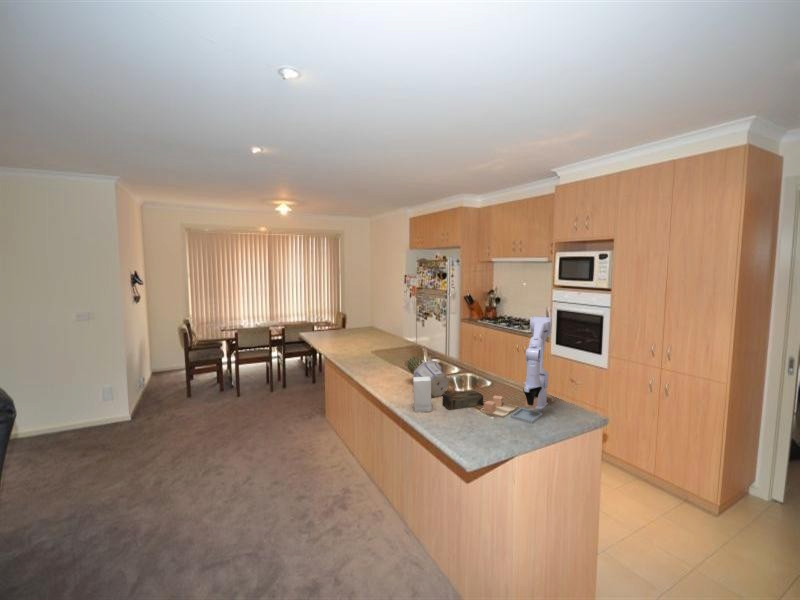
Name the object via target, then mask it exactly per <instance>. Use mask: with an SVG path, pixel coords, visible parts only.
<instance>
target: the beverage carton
mask: <svg viewBox="0 0 800 600" xmlns="http://www.w3.org/2000/svg"><path fill="white" fill-rule="evenodd" d="M441 404H442V407H444V408H445V409H446V410H447V411H455V410H463V409H468V408H476V407H482V406H483V407H484V395H483V394H482V393H480V392H479V391H477V390H471V391H470V390H469V391H458V392H449V393H444V394H442V402H441Z"/></svg>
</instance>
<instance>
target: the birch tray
mask: <svg viewBox="0 0 800 600" xmlns="http://www.w3.org/2000/svg"><path fill="white" fill-rule="evenodd" d="M518 408H519V406H518V405H514V404H510V403H507V402H503V405H502V406H501V407H497V406H496V411H494V412H493V413H491V412H487V411H484V407H482V408H481V409H479V412H480V413H484V414H488V415H491V416H495V417H499V418H502V419H503V418H505V417H507V416H509V415H511V413H512V412H515V411H516V410H518Z"/></svg>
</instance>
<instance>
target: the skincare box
mask: <svg viewBox="0 0 800 600" xmlns="http://www.w3.org/2000/svg"><path fill="white" fill-rule="evenodd" d="M412 386H413V409H414V410H413V411H414V413H427V412H428V413H430V412H432V397H431V379H430V377H413V376H412Z"/></svg>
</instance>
